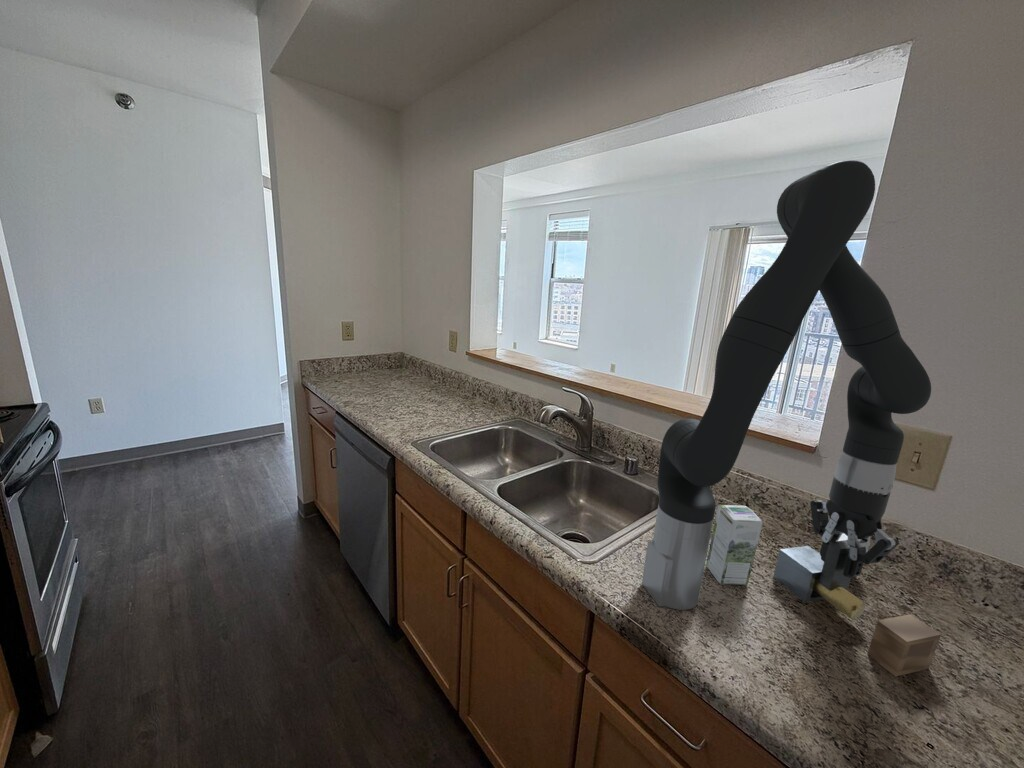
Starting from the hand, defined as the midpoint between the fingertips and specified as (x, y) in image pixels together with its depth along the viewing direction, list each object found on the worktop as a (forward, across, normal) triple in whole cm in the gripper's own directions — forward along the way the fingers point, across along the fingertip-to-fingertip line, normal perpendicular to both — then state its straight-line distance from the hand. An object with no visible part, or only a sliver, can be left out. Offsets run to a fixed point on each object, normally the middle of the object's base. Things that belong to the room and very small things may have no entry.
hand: (838, 567), depth 73 cm
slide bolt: (+7, -2, 0) cm, 7 cm away
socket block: (+8, +12, 0) cm, 14 cm away
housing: (+8, -5, 0) cm, 10 cm away
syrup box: (+8, -10, -13) cm, 19 cm away
